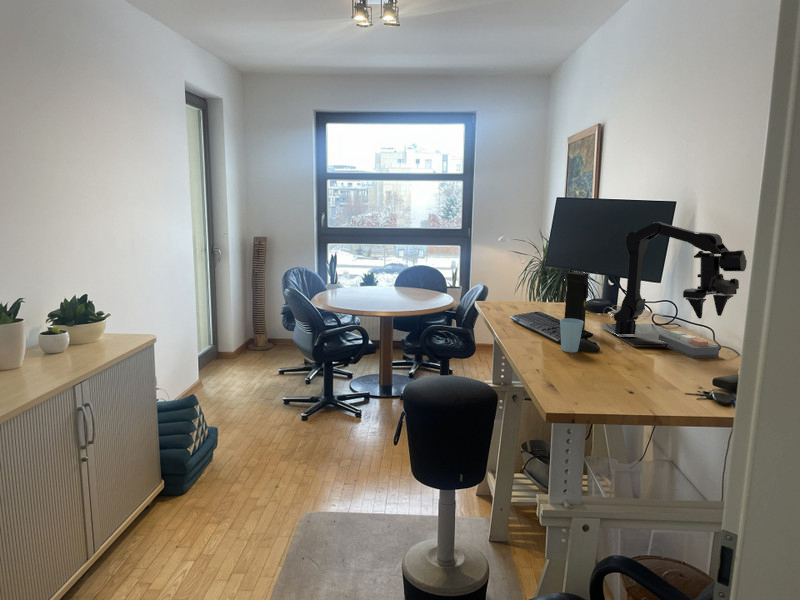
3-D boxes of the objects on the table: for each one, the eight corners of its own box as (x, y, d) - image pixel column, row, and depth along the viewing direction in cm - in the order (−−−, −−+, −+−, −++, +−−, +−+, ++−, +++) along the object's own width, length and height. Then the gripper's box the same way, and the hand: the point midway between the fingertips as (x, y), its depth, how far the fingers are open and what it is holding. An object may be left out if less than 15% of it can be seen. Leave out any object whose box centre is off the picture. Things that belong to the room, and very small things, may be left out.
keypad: (692, 358, 192) (693, 348, 191) (658, 343, 209) (659, 334, 209) (718, 357, 194) (719, 347, 193) (682, 343, 211) (683, 333, 211)
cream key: (686, 344, 199) (687, 337, 199) (679, 342, 203) (680, 335, 202) (695, 344, 200) (696, 337, 199) (688, 341, 203) (689, 334, 203)
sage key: (676, 340, 204) (677, 333, 204) (669, 338, 208) (670, 331, 207) (685, 340, 205) (686, 333, 205) (678, 337, 209) (679, 331, 208)
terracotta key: (697, 349, 194) (698, 342, 193) (690, 346, 197) (691, 339, 197) (707, 348, 195) (708, 341, 194) (699, 346, 198) (700, 338, 198)
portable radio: (587, 330, 228) (593, 267, 223) (580, 332, 224) (586, 268, 219) (569, 326, 233) (574, 265, 228) (562, 328, 229) (567, 266, 224)
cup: (564, 353, 193) (567, 323, 192) (553, 347, 201) (556, 318, 199) (585, 353, 195) (587, 323, 193) (573, 347, 203) (575, 318, 201)
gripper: (711, 274, 183) (710, 322, 185) (751, 270, 190) (751, 316, 192) (681, 272, 193) (681, 318, 195) (721, 269, 200) (721, 313, 202)
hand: (709, 317), depth 196 cm, fingers open, 9 cm apart
